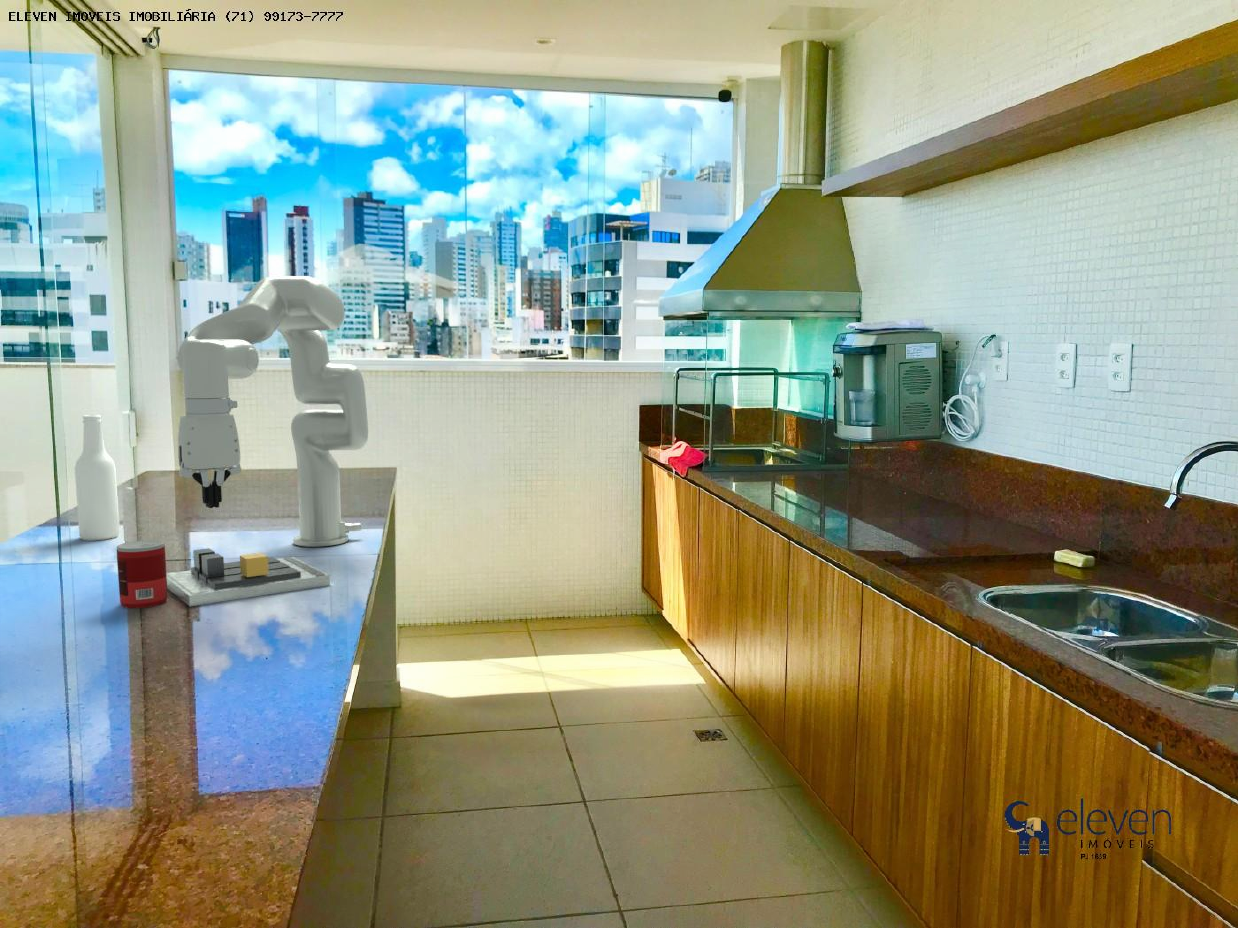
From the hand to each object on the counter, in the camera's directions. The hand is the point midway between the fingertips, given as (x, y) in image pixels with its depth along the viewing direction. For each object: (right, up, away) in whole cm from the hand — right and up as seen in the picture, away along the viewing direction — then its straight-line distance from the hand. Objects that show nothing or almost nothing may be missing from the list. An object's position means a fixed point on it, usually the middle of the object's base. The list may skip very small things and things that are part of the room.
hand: (212, 506), depth 182 cm
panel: (+2, -16, +11) cm, 19 cm away
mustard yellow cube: (+6, -13, +6) cm, 15 cm away
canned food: (-11, -18, -3) cm, 21 cm away
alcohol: (-52, -10, +59) cm, 79 cm away
